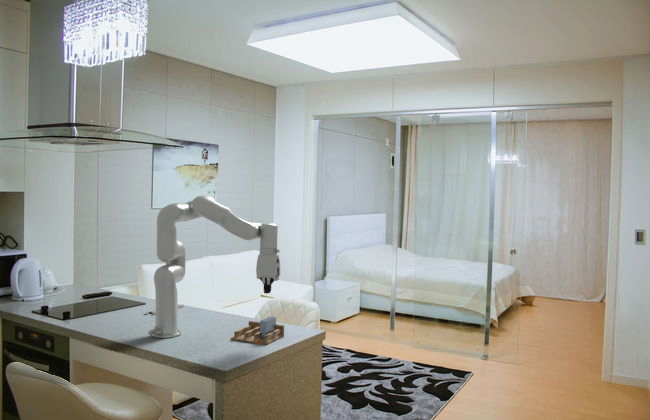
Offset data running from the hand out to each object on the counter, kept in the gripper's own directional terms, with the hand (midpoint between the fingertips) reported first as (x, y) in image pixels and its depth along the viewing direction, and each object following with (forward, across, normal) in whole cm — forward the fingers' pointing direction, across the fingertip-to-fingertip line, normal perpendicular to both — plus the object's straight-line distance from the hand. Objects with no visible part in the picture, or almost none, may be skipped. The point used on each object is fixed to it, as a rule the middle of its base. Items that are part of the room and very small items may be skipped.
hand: (267, 292), depth 226 cm
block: (+20, -1, -1) cm, 20 cm away
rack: (+21, +4, 0) cm, 21 cm away
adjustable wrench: (+22, +76, -26) cm, 84 cm away
